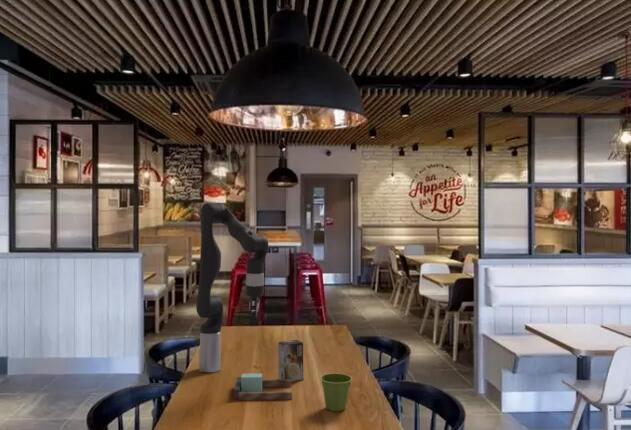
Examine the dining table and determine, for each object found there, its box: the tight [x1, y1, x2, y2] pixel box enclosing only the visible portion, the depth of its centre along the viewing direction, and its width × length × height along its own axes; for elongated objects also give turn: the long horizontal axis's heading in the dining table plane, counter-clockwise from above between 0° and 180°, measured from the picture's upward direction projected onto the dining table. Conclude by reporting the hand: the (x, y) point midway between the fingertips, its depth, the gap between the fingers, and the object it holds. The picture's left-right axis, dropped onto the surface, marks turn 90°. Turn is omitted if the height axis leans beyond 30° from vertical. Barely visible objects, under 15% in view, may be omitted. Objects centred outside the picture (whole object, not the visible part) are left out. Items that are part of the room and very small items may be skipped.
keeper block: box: [240, 373, 263, 392], centre depth 225 cm, size 8×5×7 cm, turn 93°
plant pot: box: [319, 372, 353, 412], centre depth 208 cm, size 12×12×11 cm
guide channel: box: [233, 376, 293, 401], centre depth 226 cm, size 22×16×4 cm
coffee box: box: [277, 339, 304, 383], centre depth 243 cm, size 9×6×16 cm
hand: (254, 322), depth 235 cm, fingers open, 8 cm apart
